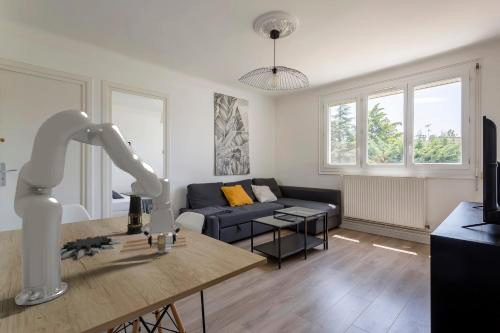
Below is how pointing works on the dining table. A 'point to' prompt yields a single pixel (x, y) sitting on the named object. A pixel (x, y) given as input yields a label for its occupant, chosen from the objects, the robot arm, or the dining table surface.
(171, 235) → the block
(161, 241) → the awl
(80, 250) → the decorative piece
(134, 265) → the dining table surface
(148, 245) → the floor panel
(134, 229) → the lantern
